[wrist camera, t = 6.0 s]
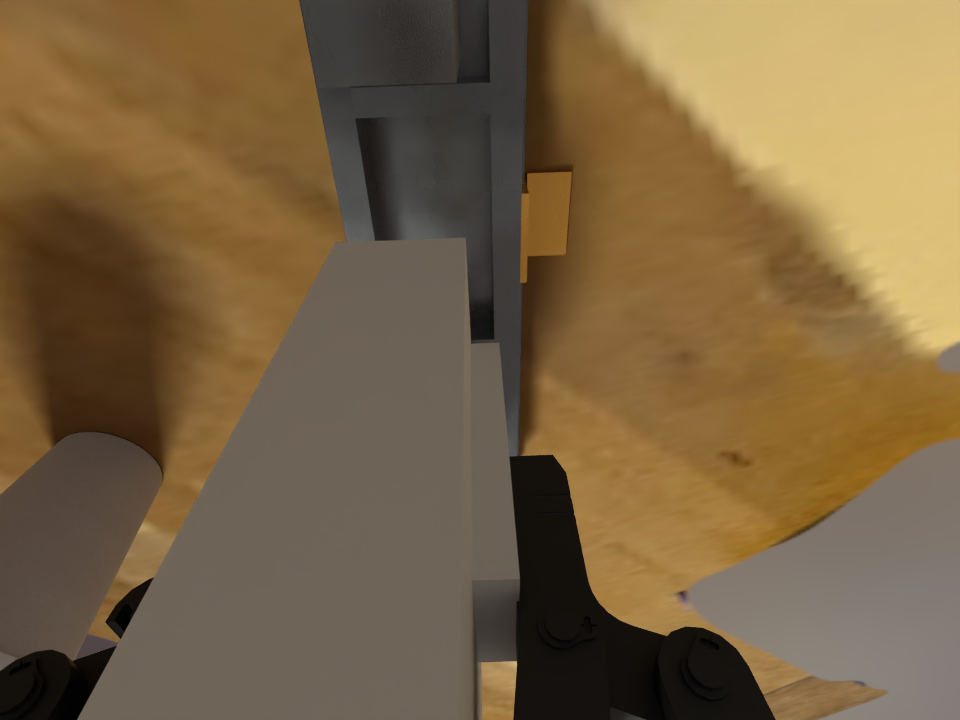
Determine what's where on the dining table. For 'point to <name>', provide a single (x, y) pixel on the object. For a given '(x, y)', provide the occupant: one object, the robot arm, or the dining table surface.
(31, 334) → the dining table surface
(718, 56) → the dining table surface
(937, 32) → the dining table surface
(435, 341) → the panel
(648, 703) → the robot arm
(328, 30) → the rack
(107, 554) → the coffee cup
